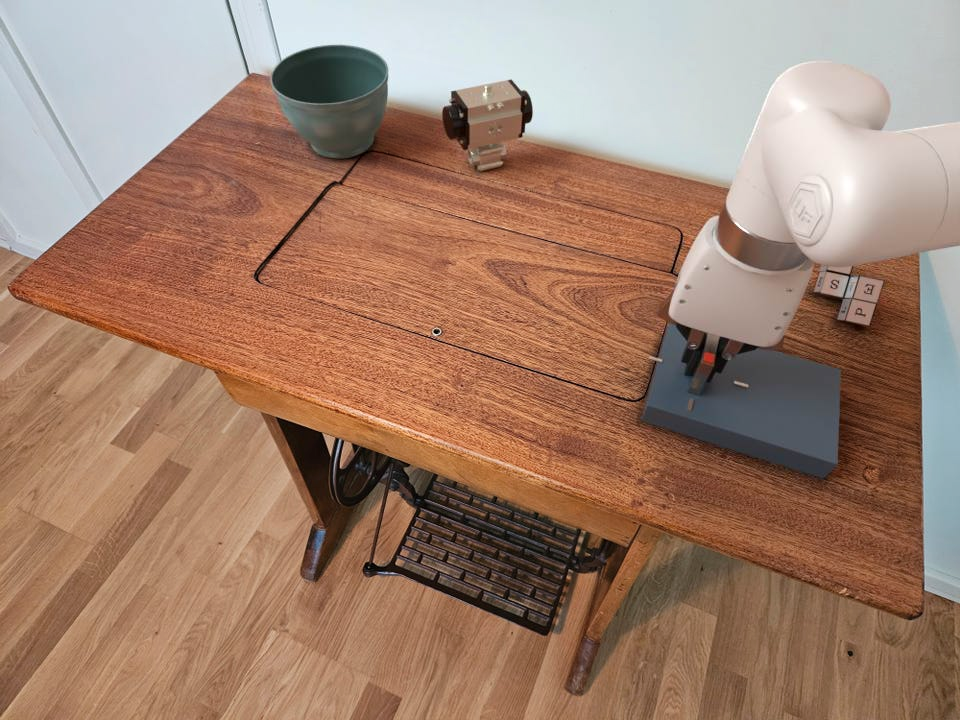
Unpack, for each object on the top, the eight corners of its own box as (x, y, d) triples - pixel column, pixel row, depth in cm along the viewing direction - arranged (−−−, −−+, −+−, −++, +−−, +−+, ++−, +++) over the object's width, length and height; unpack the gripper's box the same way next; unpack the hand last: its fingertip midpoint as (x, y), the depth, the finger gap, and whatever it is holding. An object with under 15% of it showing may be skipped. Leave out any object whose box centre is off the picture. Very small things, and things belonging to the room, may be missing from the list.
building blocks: (852, 324, 75) (872, 259, 74) (870, 326, 70) (892, 256, 69) (806, 314, 76) (825, 249, 75) (820, 315, 71) (841, 246, 70)
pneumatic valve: (443, 163, 91) (440, 84, 82) (516, 147, 94) (521, 69, 84) (456, 185, 88) (455, 106, 78) (531, 167, 91) (538, 89, 81)
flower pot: (327, 188, 87) (312, 117, 79) (267, 139, 94) (247, 69, 86) (417, 144, 94) (411, 74, 85) (355, 102, 101) (344, 33, 93)
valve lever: (696, 349, 66) (711, 316, 62) (707, 352, 66) (723, 319, 62) (686, 392, 63) (701, 360, 58) (698, 395, 62) (714, 364, 58)
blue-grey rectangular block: (828, 385, 67) (842, 368, 65) (823, 479, 60) (838, 463, 58) (653, 335, 71) (660, 317, 69) (630, 417, 64) (636, 400, 62)
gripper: (870, 225, 50) (779, 364, 64) (677, 180, 53) (632, 322, 68) (869, 287, 45) (773, 421, 60) (660, 234, 49) (616, 373, 63)
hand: (699, 368), depth 64 cm, fingers closed
